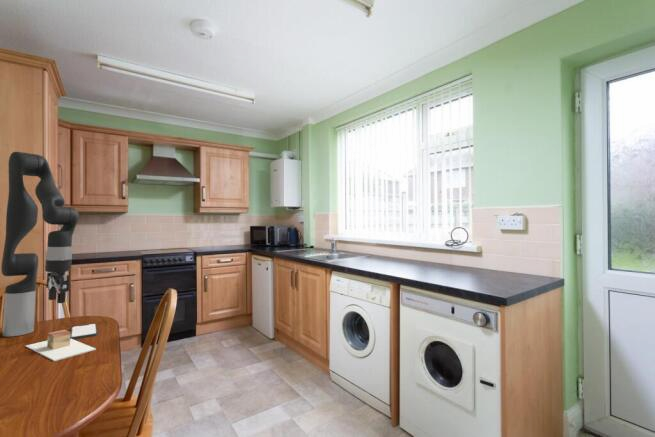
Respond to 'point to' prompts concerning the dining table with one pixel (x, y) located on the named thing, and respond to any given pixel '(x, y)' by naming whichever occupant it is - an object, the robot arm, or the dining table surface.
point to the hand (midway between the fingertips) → (56, 301)
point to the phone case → (83, 331)
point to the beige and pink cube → (58, 339)
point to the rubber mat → (60, 350)
